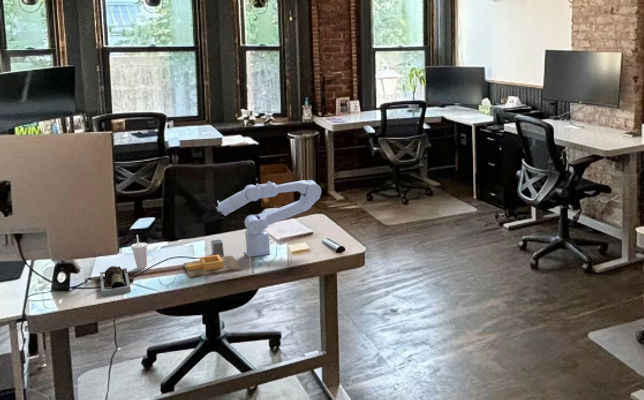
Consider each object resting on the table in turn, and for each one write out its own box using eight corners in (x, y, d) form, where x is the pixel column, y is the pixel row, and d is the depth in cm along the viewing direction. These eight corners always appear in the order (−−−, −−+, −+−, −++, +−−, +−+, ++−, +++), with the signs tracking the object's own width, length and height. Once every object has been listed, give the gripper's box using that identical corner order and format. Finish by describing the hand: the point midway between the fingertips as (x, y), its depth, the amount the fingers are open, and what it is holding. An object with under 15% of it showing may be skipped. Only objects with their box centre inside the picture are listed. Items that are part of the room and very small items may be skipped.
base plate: (232, 257, 264) (232, 255, 264) (241, 270, 249) (241, 267, 249) (183, 265, 258) (183, 263, 257) (190, 278, 243) (189, 276, 243)
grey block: (221, 252, 271) (220, 239, 269) (223, 256, 266) (222, 242, 265) (212, 254, 270) (210, 240, 268) (214, 257, 265) (212, 244, 264)
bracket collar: (219, 260, 259) (219, 254, 258) (223, 267, 251) (223, 261, 250) (186, 265, 254) (185, 259, 254) (189, 272, 246) (189, 266, 246)
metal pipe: (126, 291, 234) (124, 277, 233) (106, 294, 232) (104, 280, 230) (123, 275, 250) (121, 261, 249) (105, 278, 248) (103, 264, 247)
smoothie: (130, 269, 255) (126, 236, 252) (140, 264, 261) (136, 231, 258) (144, 271, 253) (139, 237, 250) (153, 265, 259) (149, 232, 255)
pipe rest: (127, 273, 252) (126, 268, 251) (130, 291, 233) (130, 286, 232) (100, 277, 249) (99, 272, 248) (102, 296, 229) (101, 291, 229)
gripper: (229, 197, 268) (200, 213, 267) (226, 192, 254) (196, 209, 252) (237, 211, 268) (208, 227, 266) (235, 208, 253) (204, 225, 252)
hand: (203, 220), depth 259 cm, fingers open, 7 cm apart
